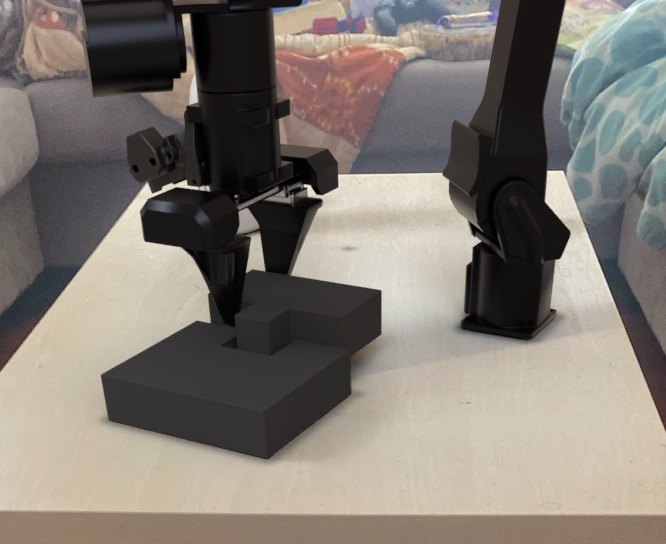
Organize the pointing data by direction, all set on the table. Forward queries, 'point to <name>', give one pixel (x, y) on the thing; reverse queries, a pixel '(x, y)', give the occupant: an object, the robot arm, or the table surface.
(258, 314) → the black t-shaped block
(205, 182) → the robot arm
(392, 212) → the table surface
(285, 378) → the charcoal pad
